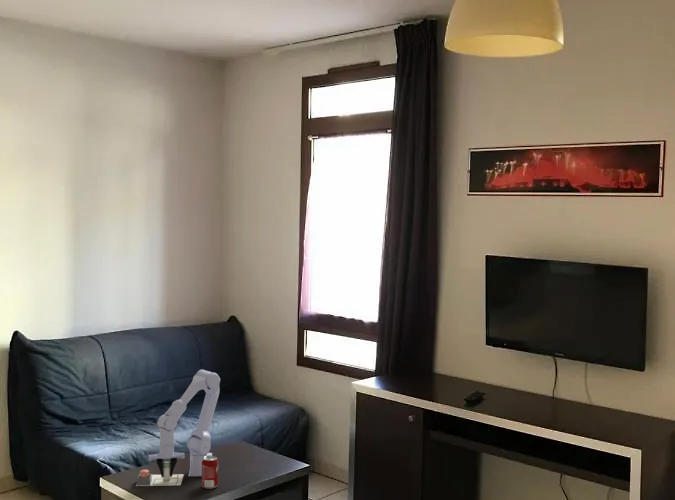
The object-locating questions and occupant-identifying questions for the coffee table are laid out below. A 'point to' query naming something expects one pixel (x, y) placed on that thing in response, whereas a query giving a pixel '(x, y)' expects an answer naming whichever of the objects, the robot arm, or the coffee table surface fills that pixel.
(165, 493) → the coffee table surface
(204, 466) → the soda can
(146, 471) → the button
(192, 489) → the coffee table surface
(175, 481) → the sheet
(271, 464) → the coffee table surface
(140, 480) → the button base
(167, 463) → the marker
